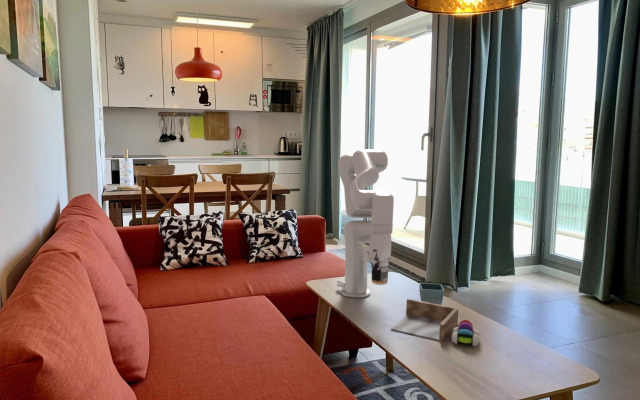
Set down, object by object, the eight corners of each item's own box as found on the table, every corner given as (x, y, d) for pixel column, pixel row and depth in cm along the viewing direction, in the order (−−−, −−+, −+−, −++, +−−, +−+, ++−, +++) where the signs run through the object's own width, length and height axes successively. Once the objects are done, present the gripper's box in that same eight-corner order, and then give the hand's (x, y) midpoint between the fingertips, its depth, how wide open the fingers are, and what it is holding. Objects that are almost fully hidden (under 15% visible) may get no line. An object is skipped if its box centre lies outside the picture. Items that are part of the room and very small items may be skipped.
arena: (388, 329, 172) (389, 313, 171) (407, 313, 188) (407, 298, 187) (442, 342, 163) (443, 324, 162) (457, 324, 179) (458, 308, 178)
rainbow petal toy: (478, 338, 166) (480, 318, 165) (478, 350, 157) (479, 328, 156) (453, 335, 169) (454, 314, 168) (450, 346, 160) (451, 324, 159)
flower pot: (440, 305, 199) (441, 283, 198) (443, 312, 190) (444, 290, 189) (418, 304, 200) (419, 282, 198) (420, 311, 191) (421, 289, 190)
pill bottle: (370, 280, 179) (371, 254, 178) (385, 280, 179) (386, 254, 178) (373, 285, 173) (374, 258, 172) (389, 285, 174) (390, 258, 172)
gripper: (381, 223, 183) (379, 270, 185) (361, 231, 168) (359, 282, 171) (400, 225, 179) (398, 273, 182) (381, 233, 164) (379, 286, 167)
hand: (379, 277), depth 176 cm, fingers closed on pill bottle, 5 cm apart
